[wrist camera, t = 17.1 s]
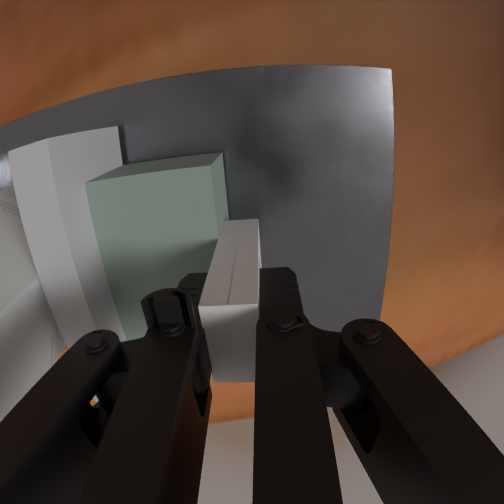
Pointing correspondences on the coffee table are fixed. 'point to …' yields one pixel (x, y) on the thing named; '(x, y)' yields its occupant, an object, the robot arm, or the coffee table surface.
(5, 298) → the supplement box
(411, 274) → the coffee table surface
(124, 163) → the vise
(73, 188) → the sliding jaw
